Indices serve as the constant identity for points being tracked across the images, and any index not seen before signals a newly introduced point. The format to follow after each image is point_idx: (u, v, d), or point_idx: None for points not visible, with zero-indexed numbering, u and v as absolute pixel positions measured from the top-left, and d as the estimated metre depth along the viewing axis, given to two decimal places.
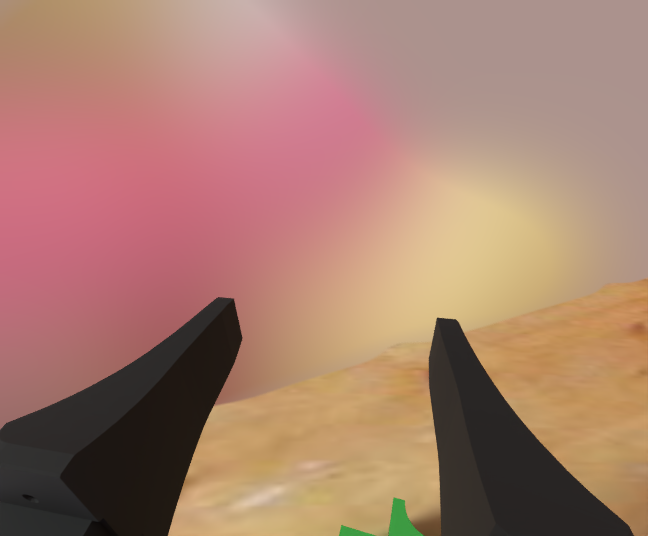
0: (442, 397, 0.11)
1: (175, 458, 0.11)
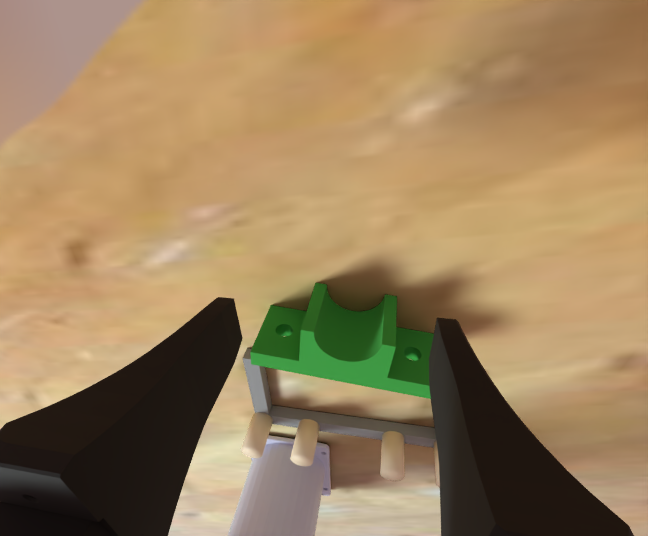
0: (442, 397, 0.11)
1: (175, 458, 0.11)
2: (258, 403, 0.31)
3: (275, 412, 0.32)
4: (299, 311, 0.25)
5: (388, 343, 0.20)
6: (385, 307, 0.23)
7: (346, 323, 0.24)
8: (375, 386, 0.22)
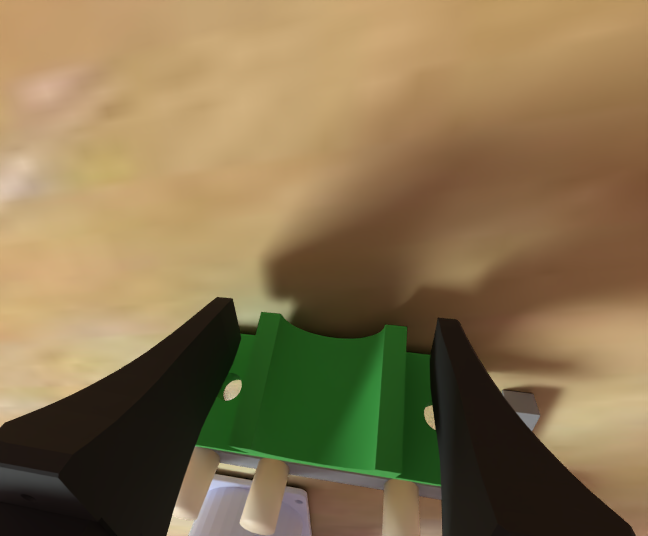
0: (443, 397, 0.11)
1: (174, 458, 0.11)
2: None
3: None
4: (253, 341, 0.16)
5: (387, 465, 0.11)
6: (384, 364, 0.12)
7: (324, 372, 0.14)
8: (378, 475, 0.14)
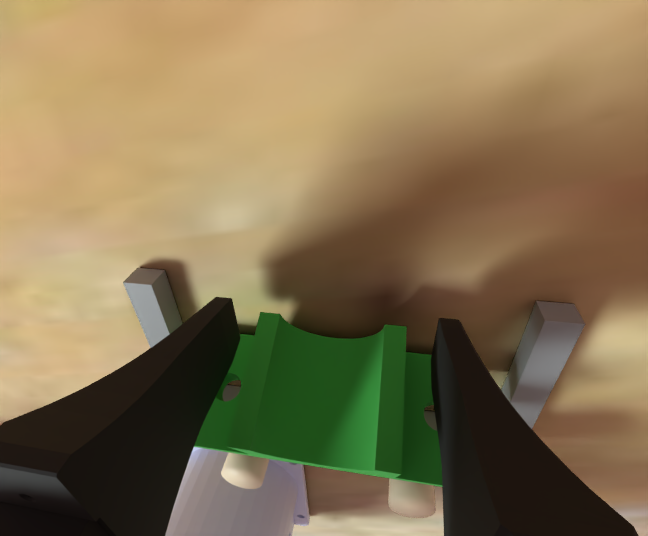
0: (445, 397, 0.11)
1: (172, 458, 0.11)
2: None
3: None
4: (252, 341, 0.16)
5: (387, 466, 0.11)
6: (384, 364, 0.12)
7: (323, 373, 0.14)
8: None
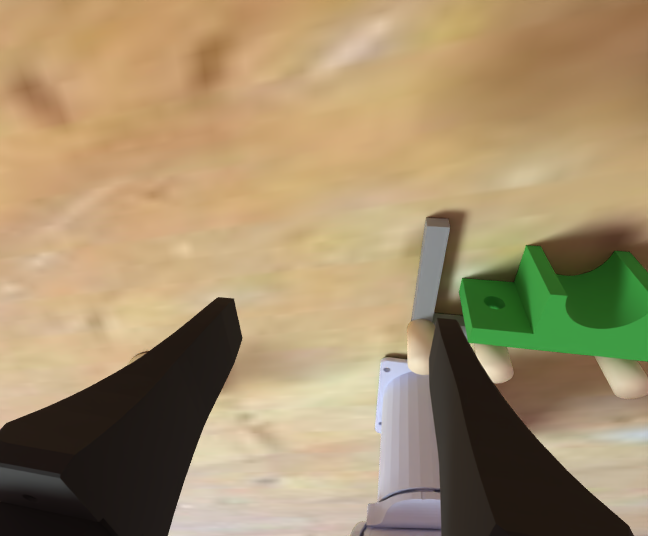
0: (442, 397, 0.11)
1: (175, 458, 0.11)
2: (423, 304, 0.23)
3: None
4: (497, 282, 0.22)
5: None
6: (627, 264, 0.19)
7: (568, 289, 0.21)
8: (627, 356, 0.19)
